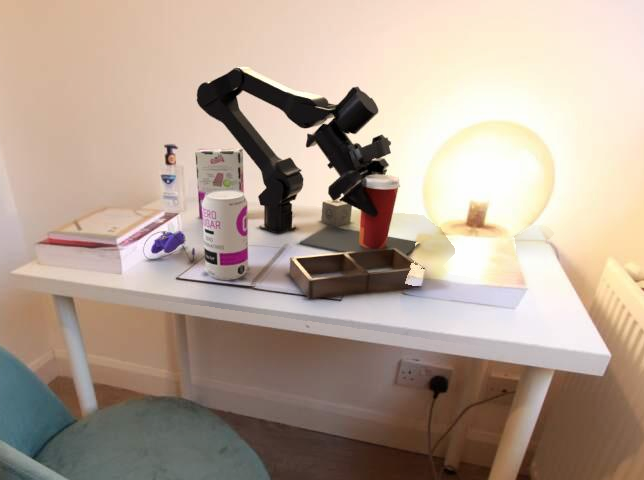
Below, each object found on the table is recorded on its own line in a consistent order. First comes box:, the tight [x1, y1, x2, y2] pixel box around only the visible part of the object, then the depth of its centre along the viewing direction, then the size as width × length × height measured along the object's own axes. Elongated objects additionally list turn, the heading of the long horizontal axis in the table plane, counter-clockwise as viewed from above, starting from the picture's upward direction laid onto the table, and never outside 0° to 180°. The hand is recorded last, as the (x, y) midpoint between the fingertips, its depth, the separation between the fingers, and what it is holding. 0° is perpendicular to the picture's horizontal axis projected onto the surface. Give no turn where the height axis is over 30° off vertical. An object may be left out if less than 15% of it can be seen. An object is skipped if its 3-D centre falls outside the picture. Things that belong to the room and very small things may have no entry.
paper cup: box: [359, 174, 401, 249], centre depth 103 cm, size 8×8×14 cm
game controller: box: [142, 230, 196, 263], centre depth 101 cm, size 10×8×10 cm
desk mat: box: [299, 225, 417, 256], centre depth 108 cm, size 22×14×1 cm, turn 55°
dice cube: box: [320, 198, 353, 227], centre depth 121 cm, size 5×5×5 cm
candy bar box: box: [195, 148, 245, 219], centre depth 124 cm, size 11×5×16 cm, turn 81°
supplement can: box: [202, 190, 249, 281], centre depth 92 cm, size 8×8×15 cm
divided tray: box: [289, 248, 426, 300], centre depth 90 cm, size 11×21×4 cm, turn 102°
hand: (383, 211), depth 102 cm, fingers closed on paper cup, 7 cm apart
